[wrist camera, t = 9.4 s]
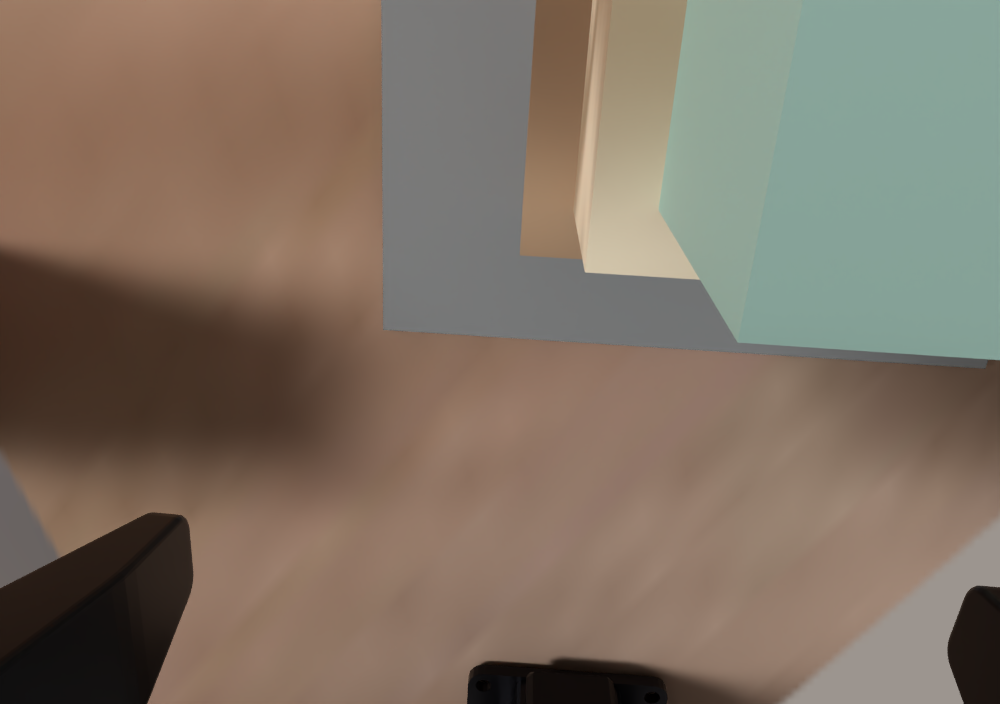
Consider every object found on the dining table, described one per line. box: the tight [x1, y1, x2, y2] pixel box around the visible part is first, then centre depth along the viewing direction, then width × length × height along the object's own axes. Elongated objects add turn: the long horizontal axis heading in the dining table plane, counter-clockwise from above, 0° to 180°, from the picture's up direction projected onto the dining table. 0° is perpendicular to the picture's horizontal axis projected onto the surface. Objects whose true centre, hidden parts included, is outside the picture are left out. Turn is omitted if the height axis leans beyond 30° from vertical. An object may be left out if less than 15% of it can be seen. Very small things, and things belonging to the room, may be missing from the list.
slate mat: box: [381, 0, 988, 369], centre depth 18 cm, size 16×16×1 cm
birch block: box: [573, 0, 700, 280], centre depth 13 cm, size 7×7×4 cm
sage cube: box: [659, 0, 1000, 360], centre depth 8 cm, size 5×5×5 cm
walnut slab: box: [520, 0, 592, 259], centre depth 16 cm, size 9×9×4 cm
